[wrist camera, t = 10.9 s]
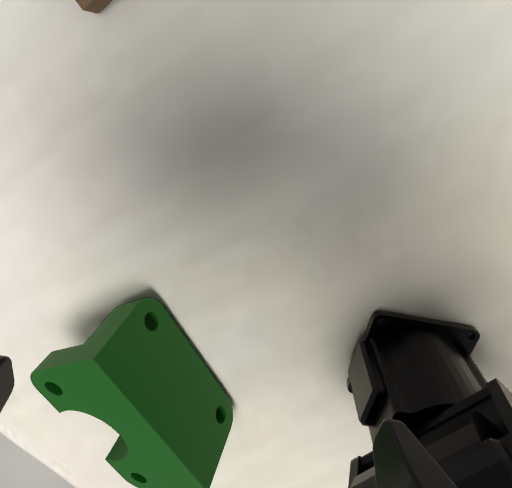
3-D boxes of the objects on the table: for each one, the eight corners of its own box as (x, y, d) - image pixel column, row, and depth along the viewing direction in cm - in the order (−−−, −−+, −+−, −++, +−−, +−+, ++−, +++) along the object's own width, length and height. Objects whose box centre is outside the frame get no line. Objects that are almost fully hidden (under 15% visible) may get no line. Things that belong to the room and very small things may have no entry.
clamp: (129, 297, 29) (11, 343, 21) (190, 279, 27) (81, 324, 19) (178, 446, 30) (79, 547, 21) (243, 443, 27) (159, 558, 19)
